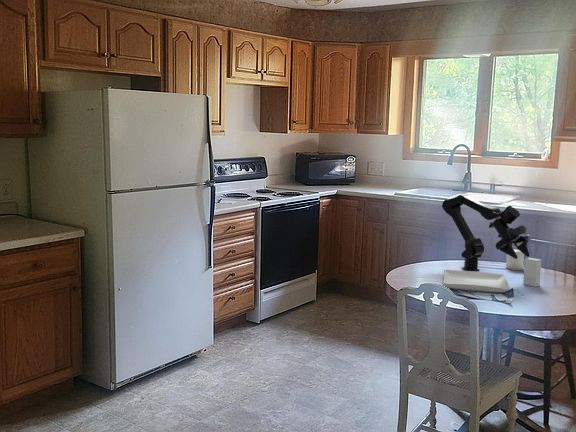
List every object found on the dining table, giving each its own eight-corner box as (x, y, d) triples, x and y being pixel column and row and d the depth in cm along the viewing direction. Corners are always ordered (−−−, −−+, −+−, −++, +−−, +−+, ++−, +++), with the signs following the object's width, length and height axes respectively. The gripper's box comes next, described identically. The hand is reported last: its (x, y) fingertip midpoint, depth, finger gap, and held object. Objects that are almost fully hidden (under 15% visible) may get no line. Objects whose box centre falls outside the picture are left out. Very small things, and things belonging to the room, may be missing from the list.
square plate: (504, 281, 274) (504, 273, 274) (509, 297, 248) (510, 288, 248) (443, 276, 281) (444, 268, 281) (442, 290, 255) (443, 281, 255)
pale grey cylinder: (502, 266, 303) (504, 249, 302) (515, 265, 306) (516, 248, 305) (513, 270, 296) (514, 252, 295) (526, 269, 299) (527, 252, 297)
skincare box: (540, 285, 267) (542, 259, 265) (535, 287, 264) (537, 260, 262) (527, 282, 271) (529, 256, 270) (522, 284, 269) (524, 258, 267)
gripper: (503, 220, 267) (523, 249, 259) (527, 218, 278) (547, 245, 270) (486, 235, 274) (506, 263, 267) (511, 232, 285) (530, 259, 278)
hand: (522, 257), depth 270 cm, fingers open, 9 cm apart
